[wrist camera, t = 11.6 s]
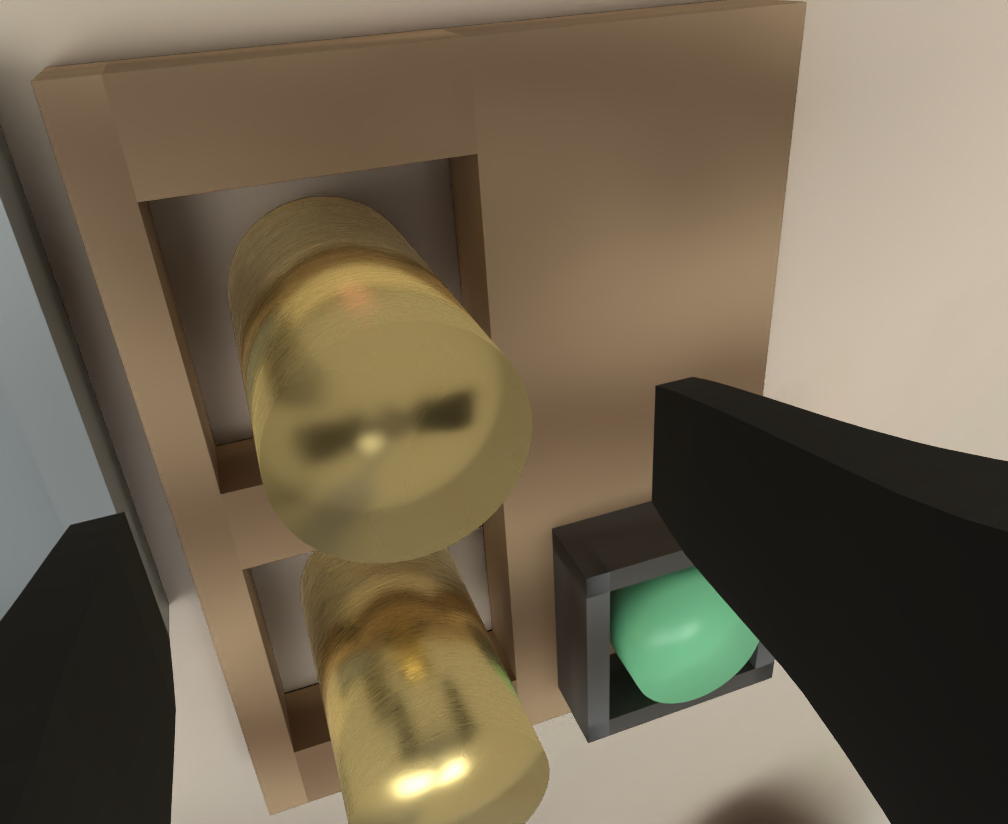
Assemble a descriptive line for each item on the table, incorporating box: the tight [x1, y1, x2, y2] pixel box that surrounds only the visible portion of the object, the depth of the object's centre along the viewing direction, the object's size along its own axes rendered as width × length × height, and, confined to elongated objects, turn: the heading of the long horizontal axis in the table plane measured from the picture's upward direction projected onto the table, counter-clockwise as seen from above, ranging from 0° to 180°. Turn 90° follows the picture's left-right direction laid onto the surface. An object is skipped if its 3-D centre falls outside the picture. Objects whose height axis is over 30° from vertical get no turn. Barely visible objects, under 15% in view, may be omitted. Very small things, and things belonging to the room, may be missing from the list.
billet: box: [228, 196, 532, 564], centre depth 15 cm, size 4×4×7 cm
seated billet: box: [300, 547, 549, 824], centre depth 19 cm, size 4×4×7 cm
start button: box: [610, 566, 759, 704], centre depth 21 cm, size 4×4×2 cm
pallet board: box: [31, 0, 807, 815], centre depth 19 cm, size 18×14×4 cm
